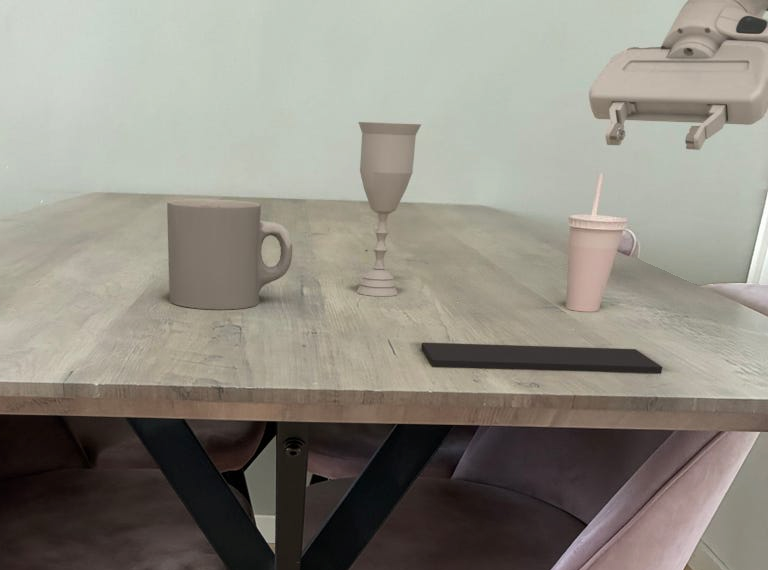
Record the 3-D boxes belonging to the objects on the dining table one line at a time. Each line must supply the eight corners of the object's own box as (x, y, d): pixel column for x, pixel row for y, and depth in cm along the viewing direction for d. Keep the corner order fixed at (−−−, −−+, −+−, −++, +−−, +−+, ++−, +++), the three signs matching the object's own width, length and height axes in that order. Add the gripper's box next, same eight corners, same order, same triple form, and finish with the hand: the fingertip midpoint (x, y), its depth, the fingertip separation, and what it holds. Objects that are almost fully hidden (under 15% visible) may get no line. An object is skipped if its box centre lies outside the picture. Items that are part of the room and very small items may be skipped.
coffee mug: (160, 306, 102) (157, 204, 97) (180, 291, 111) (178, 197, 106) (284, 313, 101) (287, 210, 96) (294, 298, 110) (297, 203, 105)
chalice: (379, 286, 119) (391, 122, 111) (418, 294, 115) (434, 125, 106) (335, 290, 115) (345, 121, 106) (375, 299, 111) (388, 123, 102)
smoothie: (563, 301, 114) (585, 171, 107) (617, 308, 111) (643, 174, 104) (546, 309, 109) (568, 173, 102) (602, 316, 106) (629, 176, 99)
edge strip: (634, 355, 89) (635, 349, 88) (661, 373, 83) (662, 366, 82) (420, 349, 88) (421, 342, 88) (432, 366, 82) (432, 359, 82)
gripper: (613, 25, 114) (562, 117, 112) (793, 22, 103) (739, 124, 101) (621, 71, 119) (572, 159, 117) (793, 72, 108) (742, 170, 106)
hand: (651, 143), depth 109 cm, fingers open, 8 cm apart
